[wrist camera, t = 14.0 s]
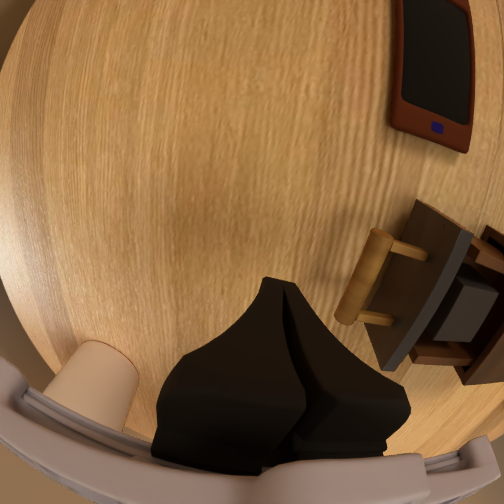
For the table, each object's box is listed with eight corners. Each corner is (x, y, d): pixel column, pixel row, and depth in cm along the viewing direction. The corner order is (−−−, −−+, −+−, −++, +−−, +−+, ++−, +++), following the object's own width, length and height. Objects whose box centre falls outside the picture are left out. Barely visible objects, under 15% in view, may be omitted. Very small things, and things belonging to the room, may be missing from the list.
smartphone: (392, 127, 15) (394, -42, 8) (386, 127, 15) (390, -37, 9) (470, 156, 14) (469, -4, 8) (463, 154, 15) (464, -2, 9)
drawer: (315, 309, 21) (325, 364, 16) (365, 179, 16) (402, 203, 11) (458, 334, 22) (482, 373, 16) (507, 244, 17) (544, 274, 12)
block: (410, 304, 19) (432, 340, 15) (433, 254, 17) (464, 285, 13) (447, 309, 19) (470, 342, 15) (469, 264, 17) (499, 293, 13)
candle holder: (148, 399, 30) (120, 477, 19) (84, 375, 30) (47, 442, 19) (142, 350, 26) (97, 447, 15) (67, 323, 26) (12, 398, 15)
